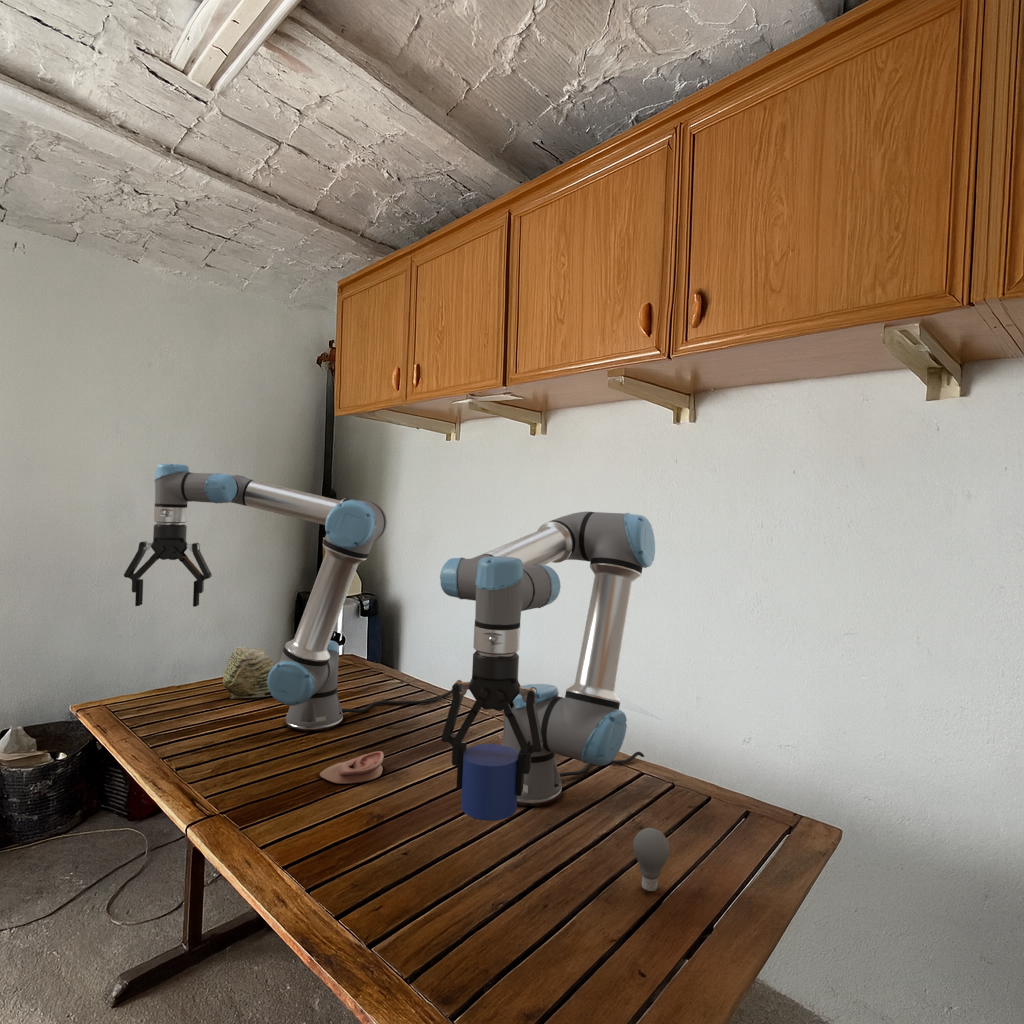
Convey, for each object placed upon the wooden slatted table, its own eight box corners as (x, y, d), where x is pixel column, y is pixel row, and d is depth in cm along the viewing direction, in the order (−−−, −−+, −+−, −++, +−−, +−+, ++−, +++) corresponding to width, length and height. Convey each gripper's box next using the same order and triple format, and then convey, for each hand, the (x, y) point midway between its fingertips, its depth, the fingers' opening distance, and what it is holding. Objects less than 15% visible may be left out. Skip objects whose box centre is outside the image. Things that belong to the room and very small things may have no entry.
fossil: (218, 695, 195) (220, 647, 195) (278, 685, 208) (279, 640, 207) (228, 703, 189) (230, 653, 188) (289, 692, 201) (290, 645, 201)
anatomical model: (313, 762, 141) (337, 743, 152) (312, 780, 141) (337, 759, 152) (369, 770, 138) (389, 750, 149) (368, 788, 138) (389, 767, 149)
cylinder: (515, 822, 99) (518, 767, 99) (457, 818, 99) (460, 764, 99) (517, 795, 108) (519, 745, 108) (464, 792, 108) (466, 742, 108)
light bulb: (627, 878, 109) (629, 820, 109) (660, 878, 109) (663, 821, 109) (636, 900, 103) (639, 839, 103) (672, 900, 104) (675, 839, 103)
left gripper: (110, 522, 157) (108, 607, 158) (218, 526, 163) (215, 608, 163) (123, 521, 165) (120, 602, 165) (225, 524, 170) (222, 603, 170)
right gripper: (424, 651, 101) (418, 790, 102) (561, 663, 98) (554, 807, 98) (437, 641, 109) (432, 771, 109) (564, 652, 105) (558, 786, 106)
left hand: (167, 605), depth 164 cm, fingers open, 13 cm apart
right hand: (490, 788), depth 104 cm, fingers closed on cylinder, 9 cm apart
